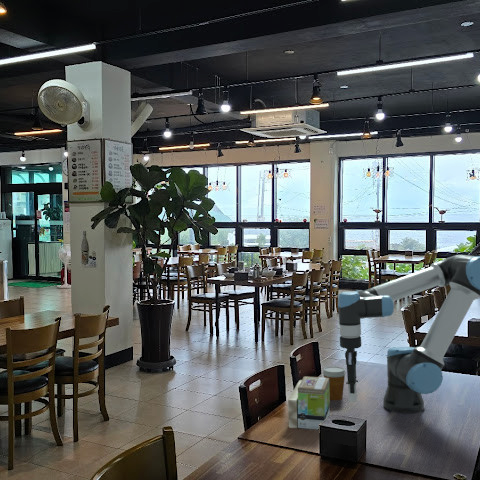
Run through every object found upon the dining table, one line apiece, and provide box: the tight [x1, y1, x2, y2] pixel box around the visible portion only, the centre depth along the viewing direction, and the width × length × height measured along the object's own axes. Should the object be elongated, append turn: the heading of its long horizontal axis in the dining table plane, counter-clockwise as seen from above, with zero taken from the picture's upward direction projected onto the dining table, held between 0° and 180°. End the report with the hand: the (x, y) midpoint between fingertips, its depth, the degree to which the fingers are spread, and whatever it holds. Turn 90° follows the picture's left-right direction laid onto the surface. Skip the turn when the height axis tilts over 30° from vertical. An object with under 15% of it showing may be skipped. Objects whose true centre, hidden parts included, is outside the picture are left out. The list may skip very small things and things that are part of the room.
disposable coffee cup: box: [322, 365, 347, 401], centre depth 226 cm, size 10×10×12 cm
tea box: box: [297, 376, 331, 431], centre depth 200 cm, size 15×10×15 cm, turn 165°
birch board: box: [287, 379, 302, 429], centre depth 207 cm, size 3×24×10 cm, turn 164°
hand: (352, 401), depth 197 cm, fingers closed
